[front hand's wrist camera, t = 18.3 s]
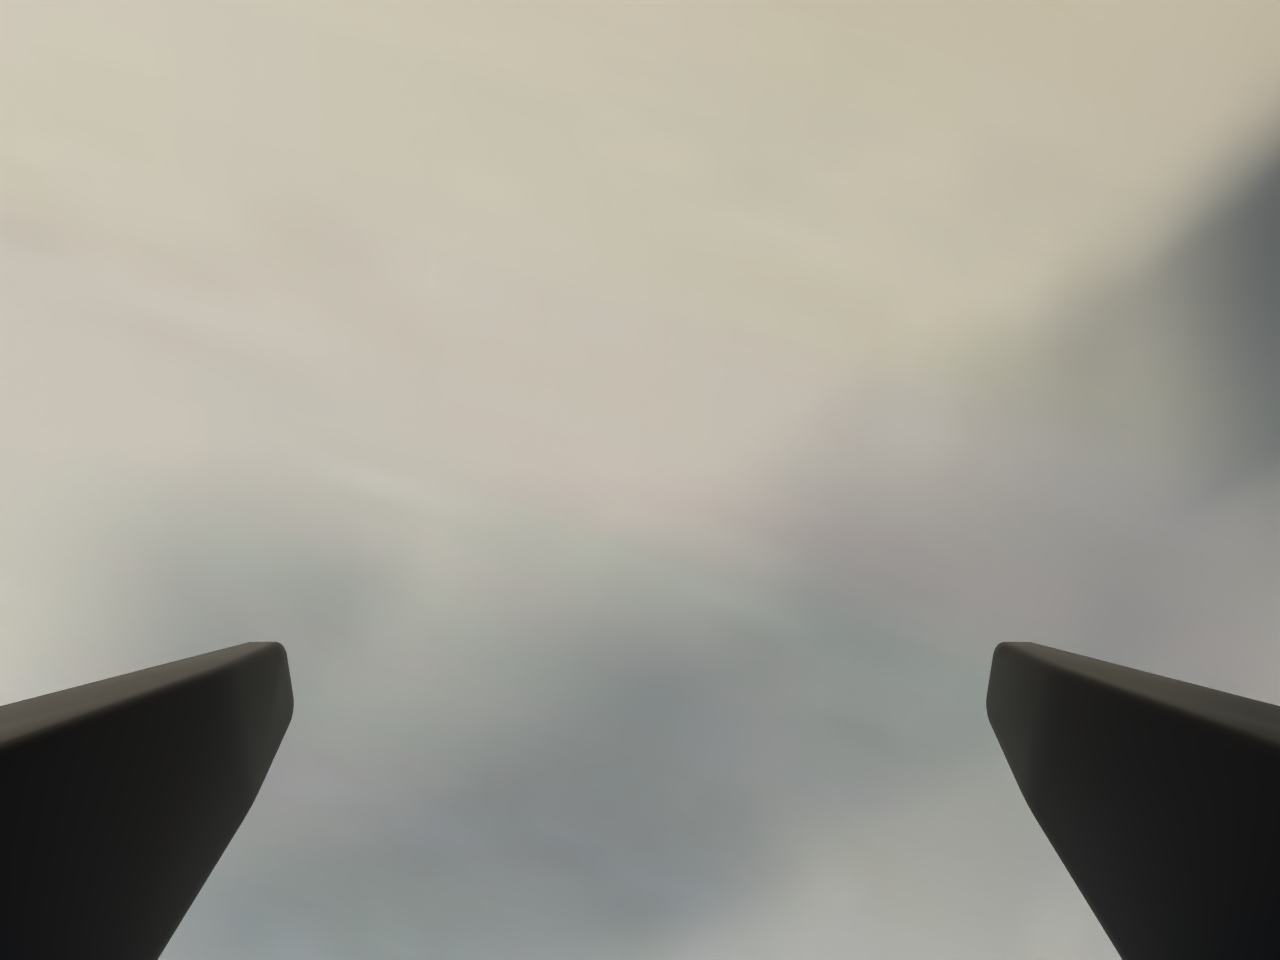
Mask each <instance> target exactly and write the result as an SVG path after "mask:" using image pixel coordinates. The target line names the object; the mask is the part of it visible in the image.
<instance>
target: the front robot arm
mask: <svg viewBox="0 0 1280 960" xmlns="http://www.w3.org/2000/svg"><path fill="white" fill-rule="evenodd" d="M293 707H294V699H293V692H292V685H291V679H290V672H289V666H288V659H287V654H286V651H285V648H284V646H283V645H282V644H280V643H278V642H248V643H245V644H241V645H237V646H233V647H229V648H225V649H221V650H217V651H213V652H210V653H206V654H202V655H198V656H194V657H190V658H186V659H182V660H178V661H175V662H171V663H167V664H163V665H159V666H155V667H151V668H147V669H143V670H140V671H136V672H132V673H128V674H124V675H120V676H116V677H112V678H108V679H105V680H101V681H97V682H93V683H89V684H85V685H81V686H77V687H73V688H70V689H66V690H62V691H58V692H54V693H50V694H46V695H42V696H38V697H35V698H31V699H27V700H23V701H19V702H15V703H11V704H7V705H4V706H0V960H158V958H159V956H160V955H161V953H162V952H163V950H164V948H165V947H166V945H167V943H168V942H169V940H170V939H171V937H172V935H173V934H174V932H175V930H176V929H177V927H178V926H179V924H180V922H181V921H182V919H183V917H184V916H185V914H186V913H187V911H188V909H189V908H190V906H191V904H192V903H193V901H194V900H195V898H196V896H197V895H198V893H199V891H200V890H201V888H202V887H203V885H204V883H205V882H206V880H207V878H208V877H209V875H210V873H211V872H212V870H213V869H214V867H215V865H216V864H217V862H218V860H219V859H220V857H221V856H222V854H223V852H224V851H225V849H226V847H227V846H228V844H229V843H230V841H231V839H232V838H233V836H234V834H235V833H236V831H237V830H238V828H239V826H240V825H241V823H242V821H243V820H244V818H245V816H246V815H247V813H248V811H249V809H250V808H251V806H252V804H253V802H254V800H255V798H256V796H257V794H258V792H259V790H260V788H261V786H262V783H263V781H264V779H265V777H266V775H267V772H268V770H269V768H270V766H271V764H272V761H273V759H274V757H275V755H276V752H277V750H278V748H279V746H280V744H281V741H282V739H283V737H284V735H285V732H286V730H287V728H288V726H289V724H290V721H291V718H292V714H293ZM986 707H987V714H988V718H989V721H990V724H991V726H992V728H993V730H994V733H995V735H996V737H997V739H998V741H999V744H1000V746H1001V748H1002V750H1003V752H1004V755H1005V757H1006V759H1007V761H1008V764H1009V766H1010V768H1011V770H1012V772H1013V775H1014V777H1015V779H1016V781H1017V783H1018V786H1019V788H1020V790H1021V792H1022V794H1023V796H1024V798H1025V800H1026V802H1027V804H1028V806H1029V808H1030V809H1031V811H1032V813H1033V815H1034V816H1035V818H1036V820H1037V821H1038V823H1039V825H1040V826H1041V828H1042V830H1043V831H1044V833H1045V834H1046V836H1047V838H1048V839H1049V841H1050V843H1051V844H1052V846H1053V847H1054V849H1055V851H1056V852H1057V854H1058V856H1059V857H1060V859H1061V860H1062V862H1063V864H1064V865H1065V867H1066V869H1067V870H1068V872H1069V873H1070V875H1071V877H1072V878H1073V880H1074V882H1075V883H1076V885H1077V886H1078V888H1079V890H1080V891H1081V893H1082V895H1083V896H1084V898H1085V899H1086V901H1087V903H1088V904H1089V906H1090V908H1091V909H1092V911H1093V912H1094V914H1095V916H1096V917H1097V919H1098V921H1099V922H1100V924H1101V925H1102V927H1103V929H1104V930H1105V932H1106V934H1107V935H1108V937H1109V938H1110V940H1111V942H1112V943H1113V945H1114V947H1115V948H1116V950H1117V952H1118V953H1119V955H1120V956H1121V958H1122V960H1280V706H1277V705H1273V704H1269V703H1265V702H1261V701H1257V700H1253V699H1249V698H1245V697H1242V696H1238V695H1234V694H1230V693H1226V692H1222V691H1218V690H1214V689H1210V688H1207V687H1203V686H1199V685H1195V684H1191V683H1187V682H1183V681H1179V680H1175V679H1172V678H1168V677H1164V676H1160V675H1156V674H1152V673H1148V672H1144V671H1140V670H1137V669H1133V668H1129V667H1125V666H1121V665H1117V664H1113V663H1109V662H1105V661H1102V660H1098V659H1094V658H1090V657H1086V656H1082V655H1078V654H1074V653H1070V652H1067V651H1063V650H1059V649H1055V648H1051V647H1047V646H1043V645H1039V644H1035V643H1032V642H1002V643H1000V644H998V645H997V646H996V648H995V651H994V654H993V659H992V666H991V672H990V679H989V685H988V692H987V699H986Z"/></svg>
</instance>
